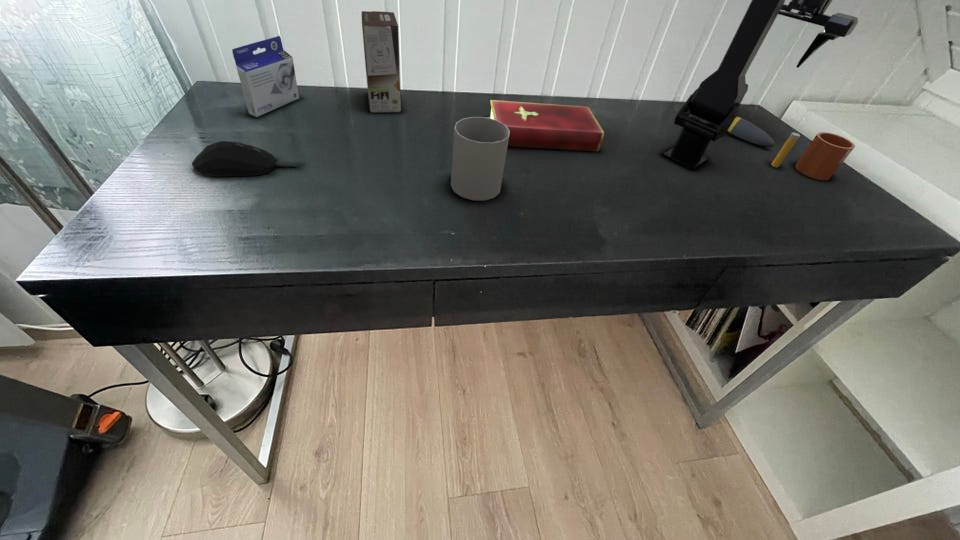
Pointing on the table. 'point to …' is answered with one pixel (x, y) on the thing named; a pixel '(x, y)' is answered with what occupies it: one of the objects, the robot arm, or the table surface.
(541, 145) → the hardcover book
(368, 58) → the coffee box
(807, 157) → the pen cup
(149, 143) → the table surface
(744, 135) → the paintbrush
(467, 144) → the cup
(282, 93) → the ink box
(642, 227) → the table surface
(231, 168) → the gaming mouse
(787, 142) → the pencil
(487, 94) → the table surface
